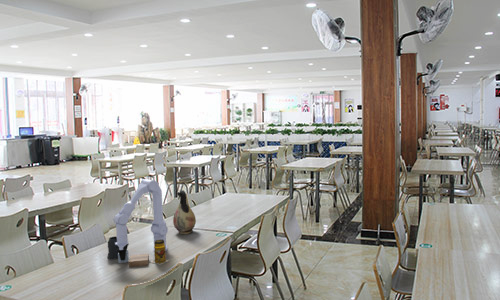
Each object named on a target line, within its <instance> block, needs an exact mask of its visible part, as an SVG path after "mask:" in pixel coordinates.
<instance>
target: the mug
mask: <svg viewBox="0 0 500 300" xmlns="http://www.w3.org/2000/svg"><path fill="white" fill-rule="evenodd" d="M115 243H117V235H116V236H110V237H109V238H108V240H107V250H108V252H107V256H106V258H107V259H108V260H118V251H117V248H119V246H118V245H115Z"/></svg>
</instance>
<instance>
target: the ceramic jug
mask: <svg viewBox="0 0 500 300" xmlns="http://www.w3.org/2000/svg"><path fill="white" fill-rule="evenodd" d="M176 195H177V196H178V197H179V199H180V200H179V204H178V206H177V207H176V210H175V212H174V214H173V218H172V220H173V221H172V224H173V227H174V228H175V229H176V230H177V232H178V233H179V234H181V235H189V234H190V233H193V230H194V228H195V225H196V223H197V220H196V215H195V213H194V211H193V210H192V208H191V207H190V206H189V204H188V203H187V193H186V191H185V190H183V189H182V190H180V191H177V193H176Z"/></svg>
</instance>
